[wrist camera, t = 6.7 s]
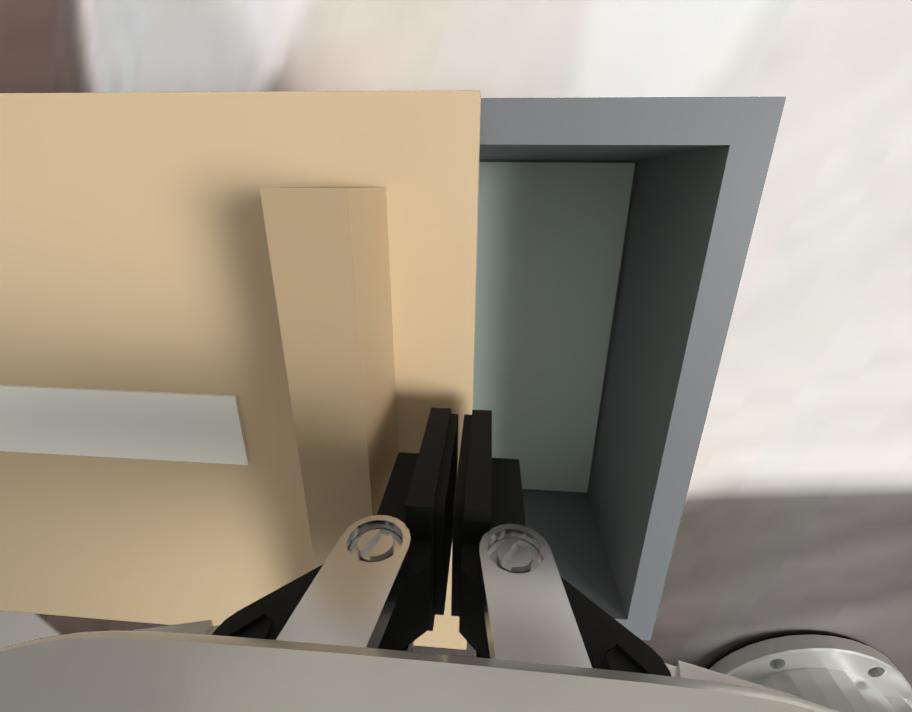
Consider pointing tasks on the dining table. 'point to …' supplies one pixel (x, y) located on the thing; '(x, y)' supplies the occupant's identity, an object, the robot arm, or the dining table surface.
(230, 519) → the lid
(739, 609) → the dining table surface
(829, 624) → the dining table surface
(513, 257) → the box
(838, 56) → the dining table surface
